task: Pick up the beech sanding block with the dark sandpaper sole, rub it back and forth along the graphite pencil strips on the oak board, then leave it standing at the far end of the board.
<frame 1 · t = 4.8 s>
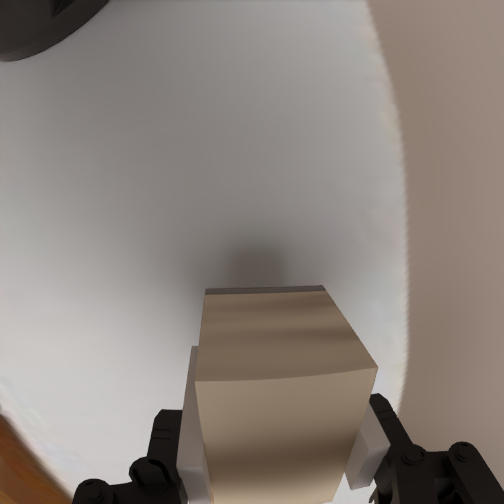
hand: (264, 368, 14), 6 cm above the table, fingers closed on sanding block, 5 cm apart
sanding block: (263, 363, 15), point 5 cm above the table, touching gripper
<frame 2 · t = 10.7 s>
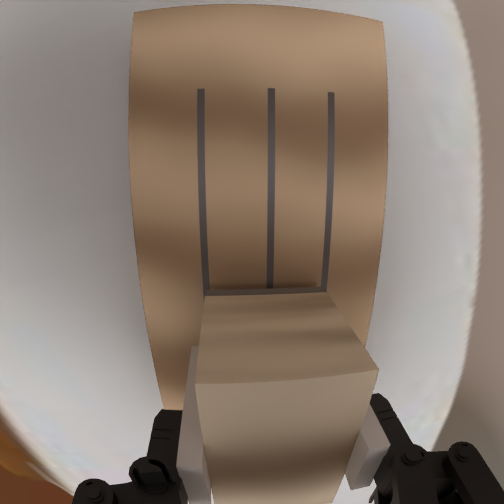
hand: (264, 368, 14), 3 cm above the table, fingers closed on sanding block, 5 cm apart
sanding block: (263, 364, 15), point 2 cm above the table, touching gripper
board: (260, 244, 15), on the table
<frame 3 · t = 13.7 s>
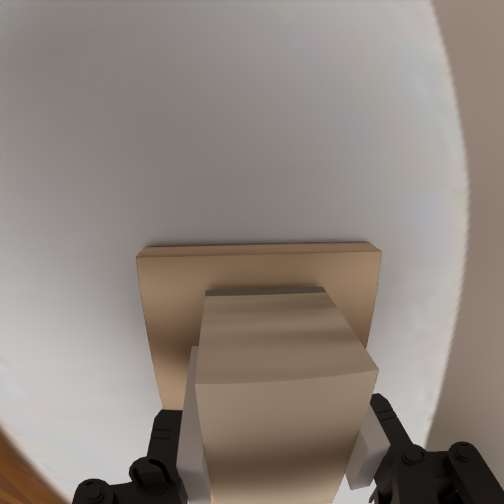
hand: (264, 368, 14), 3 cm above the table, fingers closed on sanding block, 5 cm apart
sanding block: (263, 364, 15), point 2 cm above the table, touching gripper
board: (258, 413, 18), on the table
when the fingers open (3 cm above the table, at t = 16.5 s): sanding block stays where it is, resting on board.
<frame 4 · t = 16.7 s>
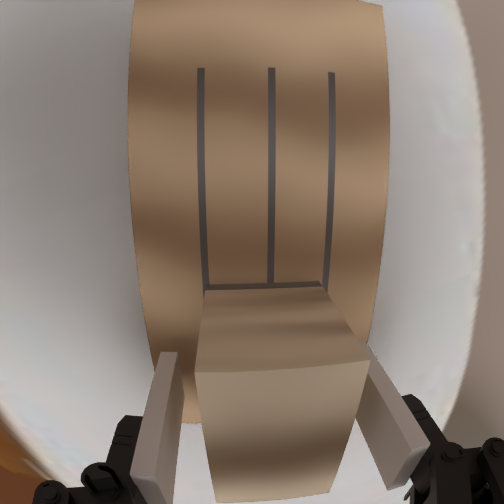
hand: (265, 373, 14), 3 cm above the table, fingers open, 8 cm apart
sanding block: (262, 357, 15), point 2 cm above the table, touching board
board: (260, 227, 15), on the table
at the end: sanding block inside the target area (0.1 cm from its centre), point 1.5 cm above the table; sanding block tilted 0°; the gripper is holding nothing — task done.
